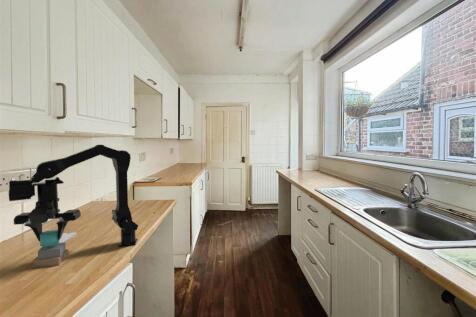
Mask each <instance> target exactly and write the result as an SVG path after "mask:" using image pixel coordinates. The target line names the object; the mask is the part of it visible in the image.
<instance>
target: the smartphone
mask: <svg viewBox="0 0 476 317" xmlns="http://www.w3.org/2000/svg"><path fill="white" fill-rule="evenodd" d="M75 235H76V236H77V235H78V231H77V232H76V231H75V232H74V231H73V232H63V234H62V236H61V239H60V240H59V243H62V242H66V241H67V242H69V241H70V240H72V239H73V238H75ZM72 237H73V238H72ZM71 238H72V239H71ZM69 239H70V240H69ZM68 240H69V241H68ZM67 242H66V243H67Z"/></svg>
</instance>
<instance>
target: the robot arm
mask: <svg viewBox="0 0 476 317" xmlns="http://www.w3.org/2000/svg"><path fill="white" fill-rule="evenodd" d="M99 156H102V157H105V158H106V159H107V158H108V159H111V161H112V165H113V168H114V171H115V186H116V187H115V188H116V192H115V195H116V206H115V209H112V210H111V214H112V215H111V216H112V217H111V220H113V223H114V224H115V225H116V226H118V227H119V228H120V242H119V244H118V247H129V246H135V245H137V242H138V238H136V231H137V230H138V228H139V224H137V223H136V222H134V221H133V217H132V216H133V215H132V213H131V210H130V207H129V198H128V197H129V195H128V194H129V193H128V192H129V191H128V171H129V168H130V164H131V159H132V158H131V153H129V152H128V151H126V150H123V149H122V150H121V149H119V150H117V149H114V148H111V147H109V146H106V145H104V144H96V145H93V146H92V147H89V148H87V149H84V150H81V151H79V152H76V153H73V154H71V155H67V156H66V157H65V156H64V157H61V158H57V159H51V160H47V161H42V162H40V163H38V165H37V166H36V168H35V173H34V174H33V175H32V176H31V177H30V179H20V180H12V179H11V180H9V181H8V201H9V202H17V201H24V200H31V199H32V198H33V197H34V196H36V193H37V201H35V207H34V208H33V209H32V210H31V211H30V212H22V213H19V214H17V215H15V217H14V218H13V224H14V225H23V226H24V227H28V228H30V229H31V230H32V232H33V233H34V235H35V237H36V239H37V240H38V242H40V233H42V232H43V224H45V223H47V222H48V220H55V219H56V220H57V219H58V220H59V221H57V222H56V225H57V230H58V240H60V239H61V236H62V234H63V233H64V232H65V229H66V227H67V225H68V222H71V221H77V219H79V218H80V217H81V214H82V213H81V210H80V209H78V208H77V209H68V210H66V211H64V212H61V209H60V208H59V201H60V198H59V196H58V193H59V192H58V185H63V184H64V183H65V182H64V181H63V180H61V179H60V178H59V177H58V176H57V175H59V174H61V173H63V172H64V171H65V170H67V169H69V168H70V167H73V166H75V165H78V164H81V163H83V162H86V161H88V160H91V159H94V158H95V157H99ZM55 176H56V177H55ZM54 177H55V178H54ZM53 178H54V179H53ZM43 180H44V182H42V181H43ZM36 189H37V190H36ZM36 191H37V192H36Z"/></svg>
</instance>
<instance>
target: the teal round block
mask: <svg viewBox="0 0 476 317" xmlns="http://www.w3.org/2000/svg"><path fill="white" fill-rule="evenodd" d="M39 243H40V244H39V245H40V247H45V246H52V245H55V244H58V243H59V240H58V229H52V230H50V229H49V230H45V231H42V233H40V241H39Z"/></svg>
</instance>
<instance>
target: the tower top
mask: <svg viewBox="0 0 476 317" xmlns="http://www.w3.org/2000/svg"><path fill="white" fill-rule="evenodd" d="M66 248H67V247H66V243H65V242H62V243H58V244H55V245H52V246H45V247H43V246H41V247H40V249H39V250H37V257H38V260H40V259H47V258H55V257H61V255H62V254H63V253H64V251H65V250H66Z"/></svg>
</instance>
